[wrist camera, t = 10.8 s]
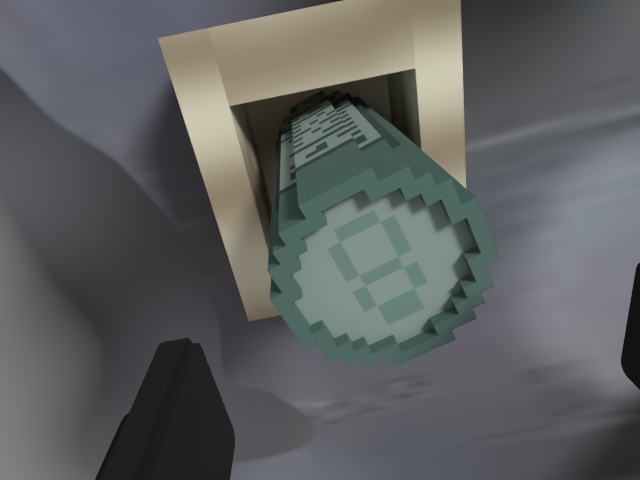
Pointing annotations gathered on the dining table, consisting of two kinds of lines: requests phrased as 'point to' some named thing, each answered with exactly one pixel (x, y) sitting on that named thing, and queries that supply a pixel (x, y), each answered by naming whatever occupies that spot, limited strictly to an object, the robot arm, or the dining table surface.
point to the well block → (300, 84)
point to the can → (370, 237)
